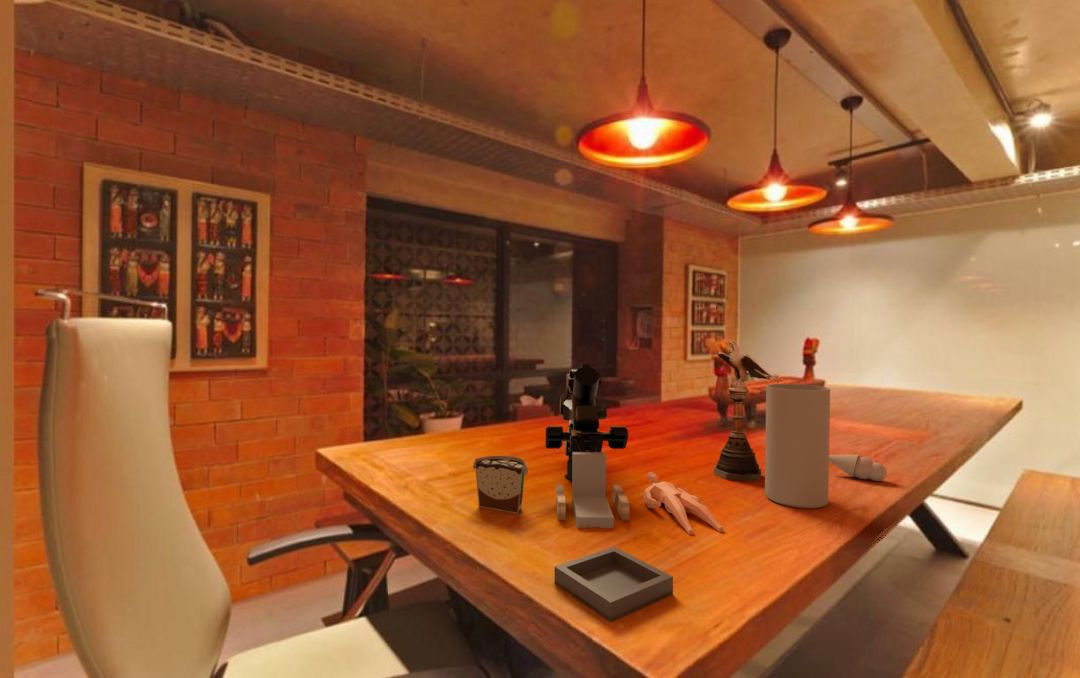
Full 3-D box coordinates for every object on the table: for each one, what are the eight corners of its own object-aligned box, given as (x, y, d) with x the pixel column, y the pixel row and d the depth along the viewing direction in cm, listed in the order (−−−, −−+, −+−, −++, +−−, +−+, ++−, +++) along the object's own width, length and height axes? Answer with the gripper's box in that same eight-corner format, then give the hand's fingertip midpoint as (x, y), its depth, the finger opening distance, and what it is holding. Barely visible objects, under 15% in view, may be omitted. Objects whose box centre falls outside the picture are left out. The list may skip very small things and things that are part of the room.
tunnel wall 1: (555, 499, 111) (556, 483, 111) (562, 499, 111) (562, 483, 111) (557, 520, 99) (558, 502, 99) (565, 520, 99) (565, 502, 99)
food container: (537, 505, 108) (538, 458, 107) (524, 515, 102) (525, 465, 102) (487, 497, 113) (487, 452, 112) (472, 505, 107) (472, 458, 107)
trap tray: (614, 561, 82) (614, 546, 81) (672, 594, 72) (673, 576, 72) (554, 583, 75) (554, 566, 75) (610, 621, 65) (610, 602, 65)
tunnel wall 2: (612, 499, 111) (612, 484, 111) (619, 499, 111) (619, 484, 111) (621, 520, 99) (621, 502, 99) (629, 520, 99) (629, 502, 99)
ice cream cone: (816, 470, 135) (883, 491, 126) (815, 459, 131) (884, 480, 121) (823, 450, 137) (889, 469, 128) (822, 439, 133) (890, 458, 124)
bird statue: (749, 463, 142) (750, 338, 141) (786, 476, 129) (788, 340, 129) (700, 469, 136) (701, 339, 135) (734, 483, 124) (736, 340, 123)
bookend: (572, 502, 109) (572, 452, 109) (604, 502, 109) (604, 452, 109) (576, 527, 96) (577, 469, 95) (613, 527, 96) (614, 470, 95)
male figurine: (680, 519, 92) (628, 470, 116) (679, 545, 92) (627, 491, 117) (733, 515, 94) (671, 467, 118) (731, 540, 95) (670, 488, 119)
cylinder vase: (834, 499, 112) (836, 387, 112) (819, 514, 103) (821, 392, 103) (775, 487, 121) (777, 382, 120) (756, 499, 112) (757, 387, 111)
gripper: (545, 390, 116) (546, 450, 105) (627, 391, 116) (636, 450, 105) (545, 419, 124) (545, 477, 113) (621, 419, 124) (629, 477, 113)
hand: (588, 470), depth 111 cm, fingers closed
